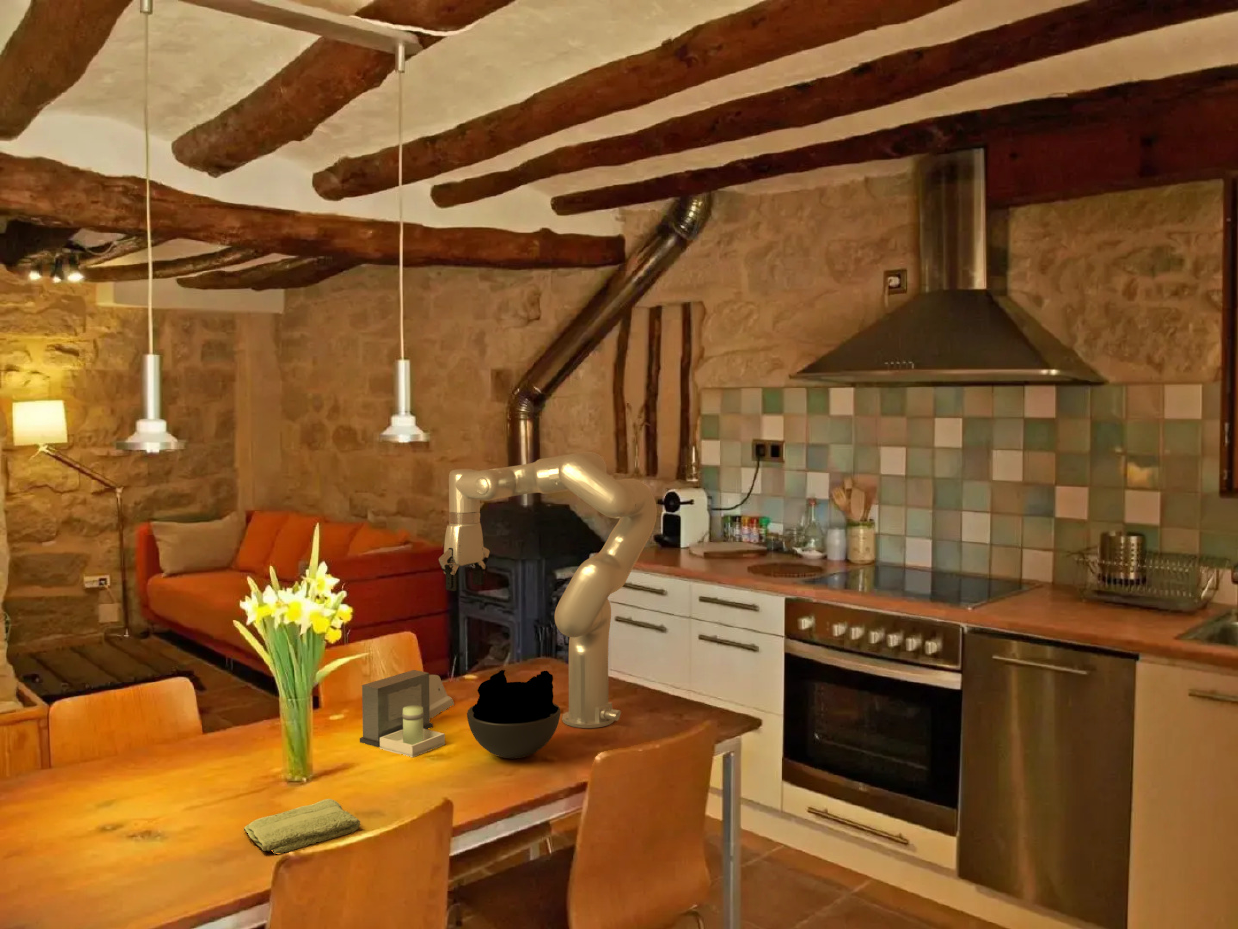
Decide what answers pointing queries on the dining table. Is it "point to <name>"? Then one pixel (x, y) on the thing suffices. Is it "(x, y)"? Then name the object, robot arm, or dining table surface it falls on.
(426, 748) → the parts tray
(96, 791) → the dining table surface
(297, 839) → the washcloth
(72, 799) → the dining table surface
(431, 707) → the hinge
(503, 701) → the coal bowl
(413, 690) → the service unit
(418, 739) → the olive green jar
